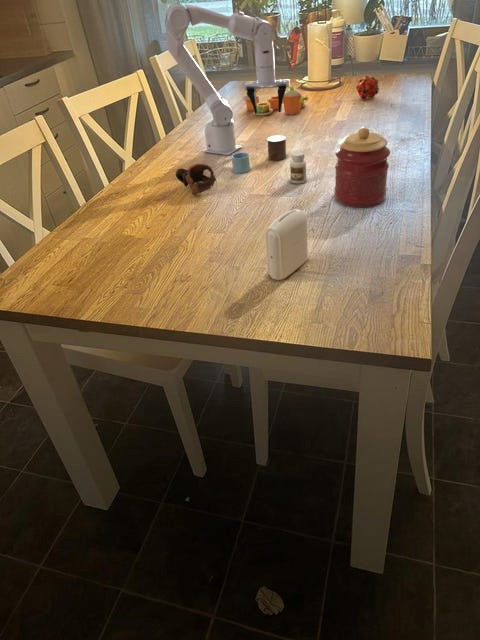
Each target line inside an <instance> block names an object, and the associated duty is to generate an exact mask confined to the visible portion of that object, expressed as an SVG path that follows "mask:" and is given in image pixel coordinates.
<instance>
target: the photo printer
mask: <svg viewBox="0 0 480 640" xmlns="http://www.w3.org/2000/svg"><path fill="white" fill-rule="evenodd" d="M265 242H266V243H265V244H266V257H267V272H268V275H270V278H271V279H273V280H275V281H276V280H277V281H282V280H284V279H287V277H289V276H290V275H292V274H293V273H294V272H295V271H296V270H298V269H299V268H300V267H301V266H302V265H303V264H305V262H306V261H307V260H308V255H309V253H308V251H309V250H308V249H309V248H308V217H307V215H306V212H304V210H301V209H298V208H296V209H295V208H294V209H290V210H287V211H286V212H283V213H282V214H280V215H279V216H278V217H276V219H275V220H273V222H272V223H271V224H270V225H269V226H268V227H267V229H266V231H265Z"/></svg>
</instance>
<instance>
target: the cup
mask: <svg viewBox="0 0 480 640" xmlns="http://www.w3.org/2000/svg"><path fill="white" fill-rule="evenodd" d="M250 162H251V161H250V154H249V153H247V152H236V153H233V154H231V164H232V171H233V173H235V174H245V173H246V174H247V173H248V172H250V170H251V164H250Z"/></svg>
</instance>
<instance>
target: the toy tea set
mask: <svg viewBox="0 0 480 640" xmlns="http://www.w3.org/2000/svg"><path fill="white" fill-rule="evenodd" d="M256 97H257V107H258V113H257V114H255V115H256V116H262V117H263V116H268V115H270V114H272V113H273V112H274V110H278V106H279V101H278V95H273V96H270V97H268V98H267V102H263V101H262V102H260V96H258V95H256ZM242 100H243V101H245V106H246V109H247V111H249V112H255V111H254V108H253V105H252V102H251V100H250V98H249V97H248V95H247V94H246V95H243V97H242ZM305 101H306V102H307V101H309V97H308V96H304V95H303V94H302V93H301V92H300V91H299V90H297V89H295V88H294V86H293V85H290V87H289V89H288V90H286V91H285V94H284V97H283V101H282V105H283V106H282V107H281V109H282V108H283V109H284V113H285V114H286V115H289V116H291V115H294V116H295V115H298V114H299V113H300V112H301V108H304V107H306V106H307V103H306V102H305Z"/></svg>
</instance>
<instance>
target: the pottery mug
mask: <svg viewBox="0 0 480 640" xmlns="http://www.w3.org/2000/svg"><path fill="white" fill-rule="evenodd" d="M205 171H208V172H209V174H210V176H208V175H206V174H204V173H205ZM175 177H176V179H177V180H178V181H179V182H181V183H182V184H183V185H184V188H187V187H188V186H189V187H191V191H190V193H191V195H192V196H195V197H198V195H199V194H201V193H204V192H206V191H209V190H210V189H211V188H212V187H213V186H214V185H215V183H216V182H217V177H216V176H215V172H214V171H213V169H212V167H211V166H209V165H208V164H204V163H195V164H193V165H191V166H190V167H189V168H188V169H186V168H178V169H177V170H176V171H175Z"/></svg>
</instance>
